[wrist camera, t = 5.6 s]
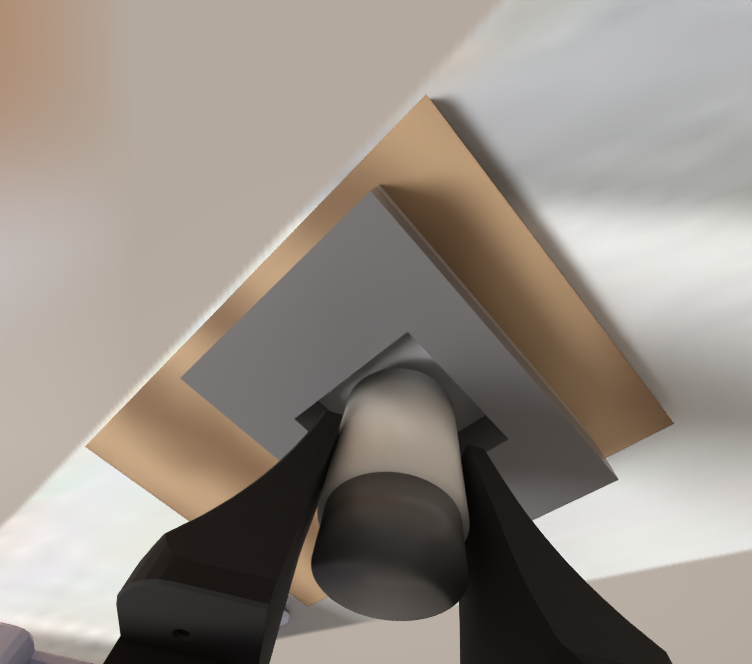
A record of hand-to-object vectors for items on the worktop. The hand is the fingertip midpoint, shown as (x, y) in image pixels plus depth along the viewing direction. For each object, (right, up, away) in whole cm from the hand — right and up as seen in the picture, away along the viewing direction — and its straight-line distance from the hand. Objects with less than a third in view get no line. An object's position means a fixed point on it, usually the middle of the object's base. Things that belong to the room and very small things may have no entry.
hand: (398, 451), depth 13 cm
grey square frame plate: (0, +2, +4) cm, 4 cm away
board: (-2, -1, +6) cm, 7 cm away
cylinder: (0, +1, +2) cm, 2 cm away
